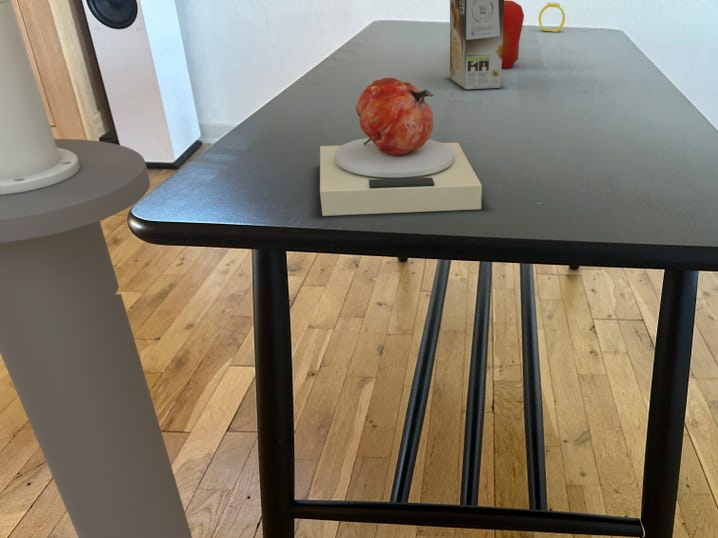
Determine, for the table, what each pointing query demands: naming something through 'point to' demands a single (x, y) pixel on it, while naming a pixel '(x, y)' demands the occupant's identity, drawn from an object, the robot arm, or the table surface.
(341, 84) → the table surface
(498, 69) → the coffee box
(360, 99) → the pomegranate
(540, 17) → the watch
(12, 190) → the robot arm
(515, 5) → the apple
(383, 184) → the scale
